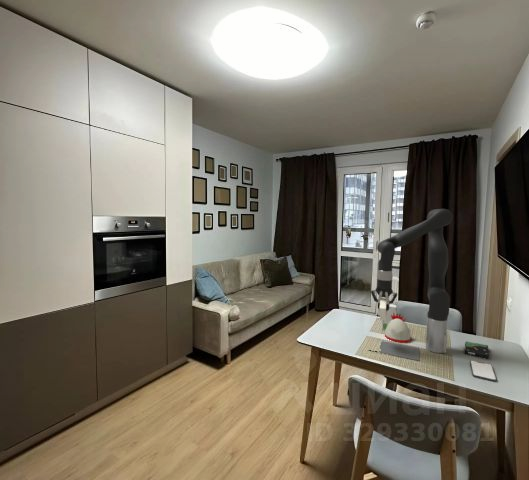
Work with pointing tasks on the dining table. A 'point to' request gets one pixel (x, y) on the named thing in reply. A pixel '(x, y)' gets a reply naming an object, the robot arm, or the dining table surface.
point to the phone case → (482, 371)
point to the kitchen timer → (397, 330)
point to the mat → (400, 350)
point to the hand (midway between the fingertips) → (383, 309)
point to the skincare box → (389, 316)
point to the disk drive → (476, 350)
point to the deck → (383, 309)
